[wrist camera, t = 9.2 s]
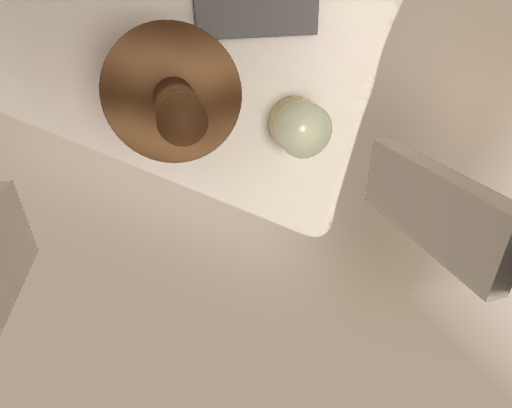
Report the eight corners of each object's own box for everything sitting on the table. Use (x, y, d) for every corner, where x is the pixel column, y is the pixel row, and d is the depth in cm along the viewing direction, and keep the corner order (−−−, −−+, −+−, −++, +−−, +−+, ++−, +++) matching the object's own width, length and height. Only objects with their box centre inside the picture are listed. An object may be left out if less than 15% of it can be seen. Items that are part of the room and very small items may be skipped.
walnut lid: (84, 23, 26) (60, 27, 19) (234, 16, 28) (265, 17, 21) (117, 166, 31) (109, 213, 24) (242, 150, 33) (269, 188, 26)
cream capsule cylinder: (267, 97, 42) (281, 107, 38) (315, 93, 43) (333, 102, 39) (268, 147, 45) (280, 161, 41) (313, 141, 46) (330, 155, 42)
